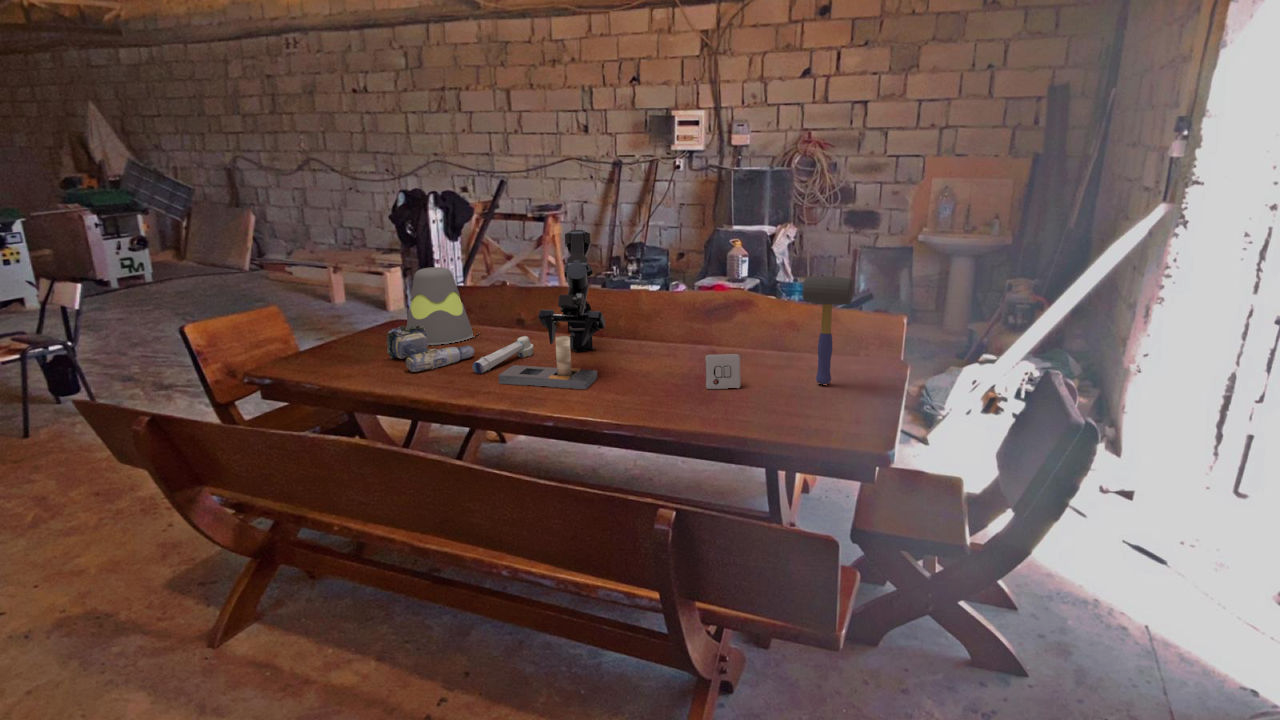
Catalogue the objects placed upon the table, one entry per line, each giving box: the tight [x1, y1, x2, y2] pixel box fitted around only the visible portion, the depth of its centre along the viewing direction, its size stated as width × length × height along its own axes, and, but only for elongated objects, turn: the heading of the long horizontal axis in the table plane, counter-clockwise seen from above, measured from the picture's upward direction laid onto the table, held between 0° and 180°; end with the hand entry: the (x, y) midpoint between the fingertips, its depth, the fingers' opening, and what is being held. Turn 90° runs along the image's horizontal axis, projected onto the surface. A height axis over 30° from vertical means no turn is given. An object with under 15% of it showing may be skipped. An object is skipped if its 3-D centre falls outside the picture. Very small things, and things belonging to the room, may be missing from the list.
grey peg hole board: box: [498, 364, 598, 390], centre depth 212 cm, size 26×10×3 cm, turn 74°
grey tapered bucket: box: [405, 266, 479, 347], centre depth 263 cm, size 28×28×24 cm
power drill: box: [386, 325, 475, 373], centre depth 235 cm, size 22×23×11 cm
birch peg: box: [554, 335, 572, 377], centre depth 210 cm, size 4×4×13 cm
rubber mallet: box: [802, 275, 854, 384], centre depth 200 cm, size 12×8×30 cm, turn 67°
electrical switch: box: [704, 353, 741, 390], centre depth 204 cm, size 9×5×9 cm, turn 90°
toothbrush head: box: [471, 335, 534, 375], centre depth 231 cm, size 5×7×25 cm
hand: (566, 344), depth 212 cm, fingers open, 9 cm apart
